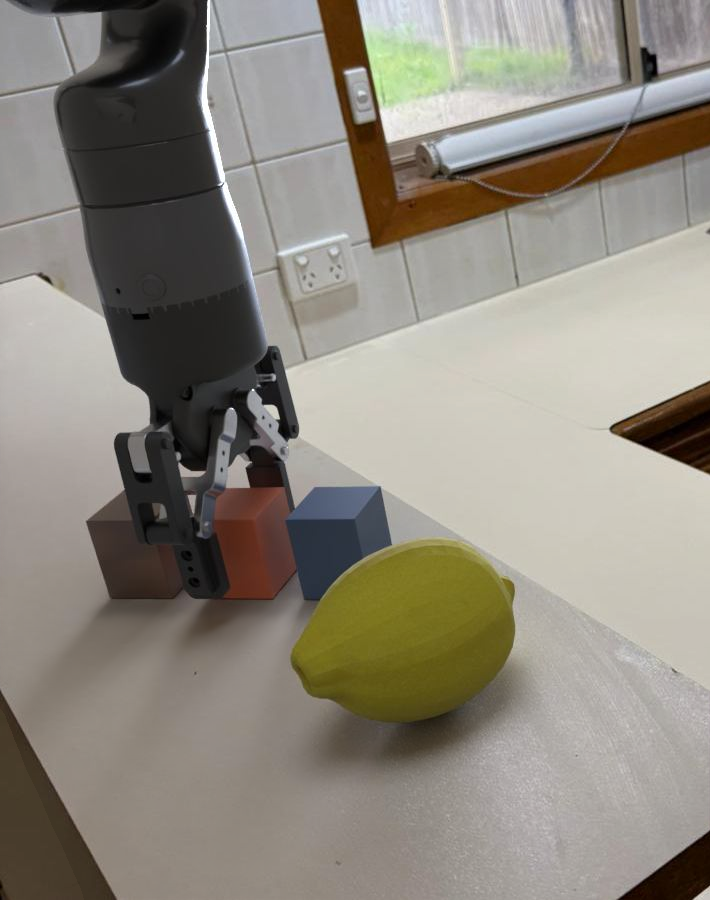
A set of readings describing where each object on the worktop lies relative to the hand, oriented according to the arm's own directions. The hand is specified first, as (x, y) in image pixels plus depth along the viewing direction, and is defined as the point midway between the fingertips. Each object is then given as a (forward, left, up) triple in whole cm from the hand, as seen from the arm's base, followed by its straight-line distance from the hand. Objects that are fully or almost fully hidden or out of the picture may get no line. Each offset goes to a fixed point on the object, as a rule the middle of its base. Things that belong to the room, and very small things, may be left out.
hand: (246, 556), depth 65 cm
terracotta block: (0, 0, -2) cm, 2 cm away
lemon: (+14, -11, -2) cm, 18 cm away
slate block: (+6, 0, -2) cm, 6 cm away
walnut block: (-6, 0, -2) cm, 6 cm away
